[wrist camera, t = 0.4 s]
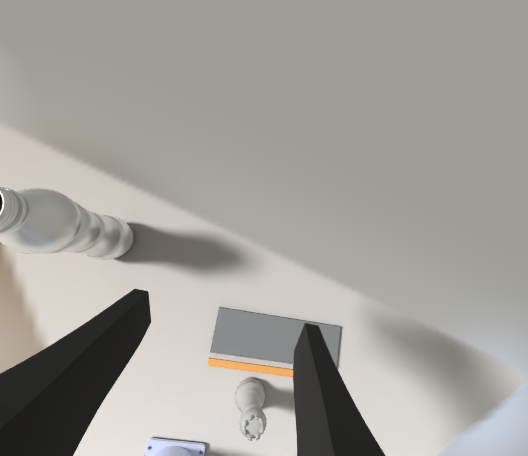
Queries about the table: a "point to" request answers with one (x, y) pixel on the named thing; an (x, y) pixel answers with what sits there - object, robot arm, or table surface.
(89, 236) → the plastic bottle
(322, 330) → the mat
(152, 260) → the table surface
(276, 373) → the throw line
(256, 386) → the rook chess piece
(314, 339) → the robot arm
